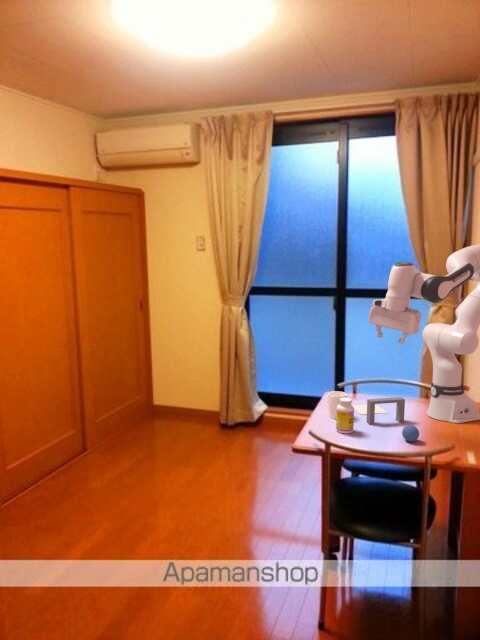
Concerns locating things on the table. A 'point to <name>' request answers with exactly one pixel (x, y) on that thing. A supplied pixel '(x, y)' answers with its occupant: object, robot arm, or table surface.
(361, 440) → the table surface
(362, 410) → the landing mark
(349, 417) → the supplement bottle
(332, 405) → the white cup
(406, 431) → the ball
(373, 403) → the bridge
